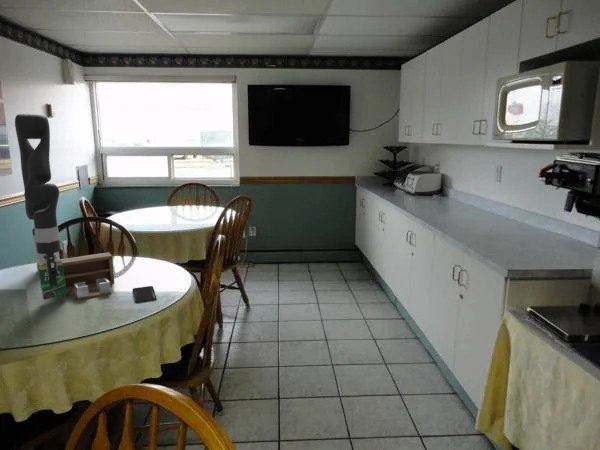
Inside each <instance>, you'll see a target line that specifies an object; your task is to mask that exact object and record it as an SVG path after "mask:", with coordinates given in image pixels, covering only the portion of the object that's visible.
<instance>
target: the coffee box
mask: <svg viewBox="0 0 600 450" xmlns="http://www.w3.org/2000/svg"><path fill="white" fill-rule="evenodd" d="M56 263H57V276H56V279H57V285H56V286H50V281H49V276H48V271H47V270H46V265H45V264H39V265H37V264H36V267H37V266H38V272H39V273H38V272H37V273H38V277H39V283H40V284H39V285H40V288H41V289H40V290H41V298H42V299H43V300H44V301H45V300H50V299H53V298H58V297H64V296H67V295H68V292H67V291H66V283H65V277H64V270H63V264H62V261H57V262H56ZM53 272H54V271H52V272H51V273H53Z"/></svg>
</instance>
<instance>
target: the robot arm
mask: <svg viewBox="0 0 600 450" xmlns="http://www.w3.org/2000/svg"><path fill="white" fill-rule="evenodd" d="M14 127H15V133H16V138H17V143H18V149H19V154H20V156H19V157H20V168H21V176H22V182H23V188H24V192H23V193H24V195H23V196H24V204H25V206H24V207H25V208H24V209H25V214H26V217H27V218H28V219H29V220H33V224H34V225H33V226H34V227H33V229H32V230H31V233H32V238H33V239H32V240H33V246H34V247H33V249H34V252H35V253H34V255H35V261H36V262H35V263H36V269H37V270H36V271H37V273H38V274H39V272H38V266H37V265H39V264H45V265H46V270H47V271H48V276H49V281H50V286H56V285H57V279H56V276H57V263H56V262H57V260H60V259H61V258H60V251H61V247H62V246H61V241H60V233H59V232H60V231H59V227H58V221H57V209H58V208H57V206H58V201H59V198H60V190H59V187H58V185H56V184H54V183H50V182H51V180H52V171H51V164H50V152H51V151H50V149H51V147H50V145H51V142H50V141H51V135H50V134H51V133H50V132H51V131H50V130H51V129H50V121H49V119H48V117H47V116H46V115H45V114H44V115H43V114H29V113H20V114H17V115H16V116H15V119H14ZM30 140H39V143H38V144H37V146H36V147H35V148H34V147H33V146H32V144H31V143H30ZM52 271H54V272H53V273H51V272H52Z"/></svg>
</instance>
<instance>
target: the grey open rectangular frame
mask: <svg viewBox="0 0 600 450" xmlns="http://www.w3.org/2000/svg"><path fill="white" fill-rule="evenodd" d="M96 287H97V290H99V291H100V294H102V293H107V292H111V293H112V290H111V284H110V282H109V281H108V280H107V278H102V279H97V280H96ZM74 289H75V294H76V296H77V298H81V297H86V296H89V292H88V286H85V282H80V283H74Z"/></svg>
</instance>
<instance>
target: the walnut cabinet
mask: <svg viewBox="0 0 600 450" xmlns="http://www.w3.org/2000/svg"><path fill="white" fill-rule="evenodd" d="M57 261H62V264H63V270H64V277H65V283H66V291H67V293H69V292H72V293H73V295H74V297H75V298H76V300H77V301H82V300H87V299H94V298H98V297H103V296H107V295H112V291H111V292H107V293H102V294H100V291H99V290H97V287H96V280H97V279H102V278H107V280H108V281H109V282H110V285H113V284H115V276H114V275H115V274H114V264H113V255H112V254H111V253H110V252H109V251H108V252H103V253H96V254H89V255H82V256H74V257H68V258H60V260H57ZM80 282H85V286H88V292H89V296H86V297H81V298H77V296H76V294H75V289H74V283H80Z"/></svg>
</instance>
